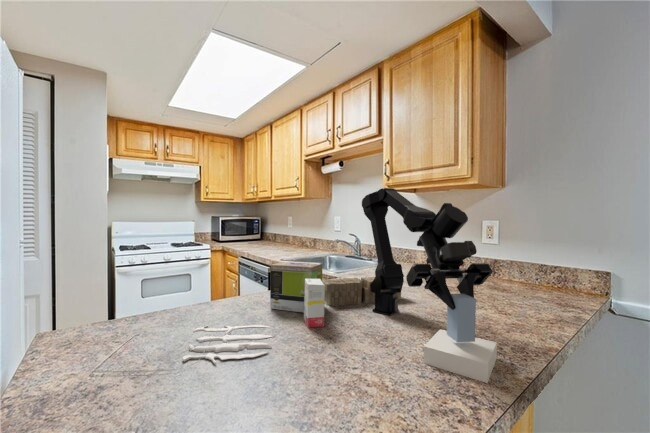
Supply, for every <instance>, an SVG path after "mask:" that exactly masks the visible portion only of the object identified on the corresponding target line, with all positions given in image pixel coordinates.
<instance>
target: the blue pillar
mask: <svg viewBox="0 0 650 433" xmlns="http://www.w3.org/2000/svg"><path fill="white" fill-rule="evenodd" d="M451 296H452V298H453V300H454V303H455V307H456V308H455V309H454V310H452V309H451V308H450V307H449V306H447V305H446V307H447V311H446V313H447V314H446V331H447V335H448V336H449V337H451V338H452V339H453V340H455V341H456V342H474V341H475V337H476V311H477V307H476V306H477V304H476V303H477V298H475V297H474V298H473V297H471V296H469V295H467V294H461V293H451Z"/></svg>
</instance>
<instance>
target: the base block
mask: <svg viewBox="0 0 650 433" xmlns="http://www.w3.org/2000/svg"><path fill="white" fill-rule="evenodd" d="M497 345H498V344H497V342H496V341H492V340H488V339H483V338H479V337H476V336H475V341H474V342H456V341H455V340H453V339H452V338H451V337H449V336H448V335H447V329H446V330H444V329H442V328H441V329H438V331H436V333H435V334H434V335H433V336H432V337H431V338H430V339H429V340H427V342H426V343H425V344H424V345H423V362H422V363H423V364H425V365H427V366H431V367H435V368H437V369H440V370H444V371H447V372H451V373H454V374H456V375H460V376H464V377H466V378H469V379H473V380H476V381H479V382H483V383H486V384H488V383H489V380H490V378H491V374H492V372H493V370H494V367H495V364H496V362H497V356H498V354H497V351H498V347H497Z"/></svg>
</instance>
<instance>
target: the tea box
mask: <svg viewBox="0 0 650 433" xmlns="http://www.w3.org/2000/svg"><path fill="white" fill-rule="evenodd" d="M269 274H270V281H269V282H270V285H269V286H270V287H269V288H270V290H269V291H270V293H269V296H270V298H269V300H270V301H269V302H270V303H269V304H270V305H269V307H270V309H272V310H278V311H279V310H280V311H287V312H297V313H304V296H305V279H321V281H322V279H323V263H322V262H312V261H311V262H310V261H308V262H307V261H291V260H283V261H279V262H276V263H273V264H270V273H269Z"/></svg>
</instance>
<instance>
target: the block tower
mask: <svg viewBox="0 0 650 433" xmlns="http://www.w3.org/2000/svg"><path fill="white" fill-rule="evenodd" d="M374 279H375V276H371V277H370V276H368V277H367V276H365V277H360V278H358V277H347V278H346V277H344V278H343V277H342V278H334V279H333V278H331V279H325V278H322V282H323V284H324V285H325V294H324V303H326V304H327V305H329V306H330V307H331V306H333V307H334V306H335V307H337V306H344V305H346V306H347V305H356V304H358V305H359V304H362V302H363V303H364V304H367V303H375V293H373V292H371V288H370V284H371V283H372V281H373V280H374ZM397 298H398V301H401V300H402V292H401V293H397Z"/></svg>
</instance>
